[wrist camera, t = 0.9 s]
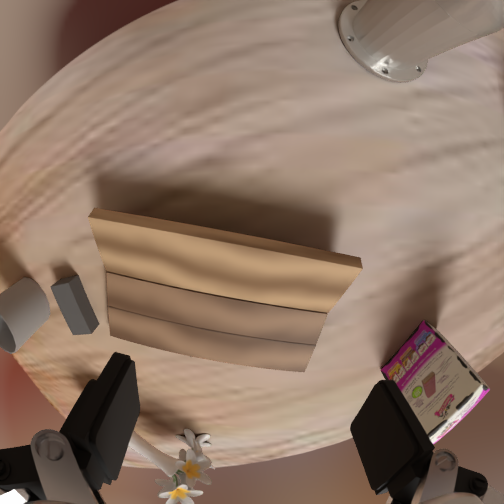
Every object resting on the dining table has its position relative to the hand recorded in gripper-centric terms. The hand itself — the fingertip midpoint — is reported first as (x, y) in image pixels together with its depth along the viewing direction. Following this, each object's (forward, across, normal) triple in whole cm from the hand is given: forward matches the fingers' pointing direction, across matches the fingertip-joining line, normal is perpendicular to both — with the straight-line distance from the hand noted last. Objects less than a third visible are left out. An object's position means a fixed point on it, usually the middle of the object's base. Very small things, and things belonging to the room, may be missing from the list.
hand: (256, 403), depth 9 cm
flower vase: (+25, +12, +38) cm, 47 cm away
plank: (+21, +3, +2) cm, 21 cm away
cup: (+24, +34, +15) cm, 45 cm away
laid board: (+23, +3, +11) cm, 26 cm away
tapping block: (+24, +23, +13) cm, 36 cm away
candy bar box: (+23, -29, +13) cm, 39 cm away
